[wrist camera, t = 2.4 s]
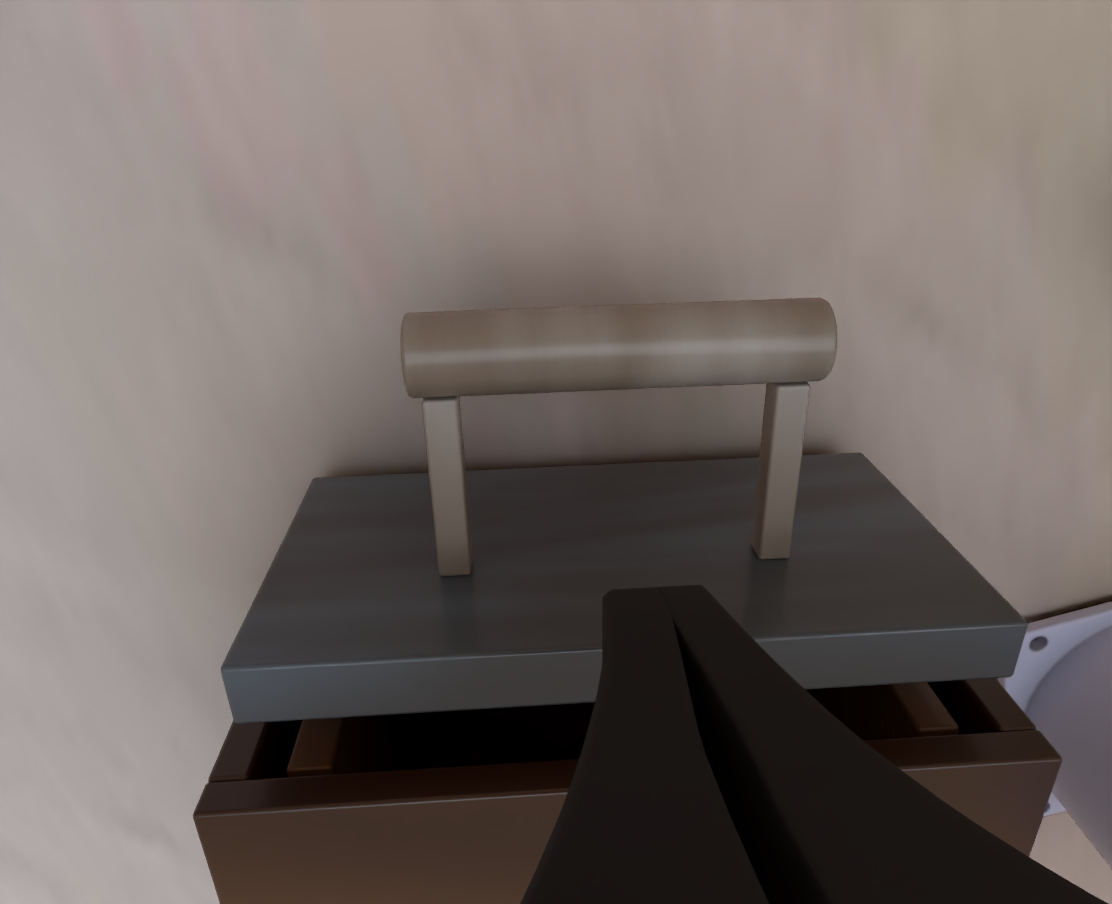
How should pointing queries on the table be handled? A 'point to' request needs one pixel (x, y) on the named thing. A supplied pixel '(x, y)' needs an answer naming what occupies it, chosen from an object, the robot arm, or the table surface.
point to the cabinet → (528, 810)
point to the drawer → (600, 555)
